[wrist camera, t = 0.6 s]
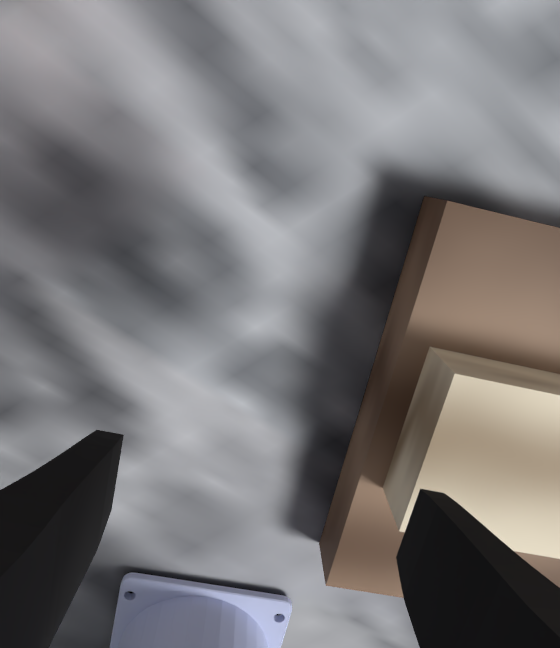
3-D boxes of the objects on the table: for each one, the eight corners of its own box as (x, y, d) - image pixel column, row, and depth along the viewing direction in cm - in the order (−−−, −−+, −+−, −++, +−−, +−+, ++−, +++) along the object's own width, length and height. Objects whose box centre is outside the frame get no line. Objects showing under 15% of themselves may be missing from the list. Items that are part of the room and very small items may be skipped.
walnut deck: (576, 586, 25) (609, 630, 23) (319, 543, 24) (325, 585, 22) (730, 270, 21) (791, 284, 18) (424, 196, 20) (447, 200, 17)
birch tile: (592, 525, 21) (634, 571, 19) (382, 487, 20) (398, 531, 18) (655, 394, 20) (710, 426, 17) (429, 346, 19) (454, 373, 16)
